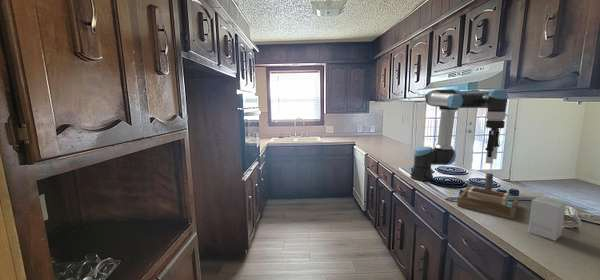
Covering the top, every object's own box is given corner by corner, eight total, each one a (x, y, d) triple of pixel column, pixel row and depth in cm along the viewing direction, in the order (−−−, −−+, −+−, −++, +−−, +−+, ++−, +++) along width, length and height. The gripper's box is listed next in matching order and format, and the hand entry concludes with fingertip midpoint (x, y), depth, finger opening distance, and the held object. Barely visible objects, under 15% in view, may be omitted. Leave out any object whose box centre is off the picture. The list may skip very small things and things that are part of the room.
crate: (470, 198, 146) (473, 169, 143) (506, 206, 135) (510, 175, 132) (466, 203, 139) (469, 173, 136) (503, 212, 128) (507, 179, 125)
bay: (466, 195, 156) (467, 186, 156) (517, 205, 140) (518, 196, 139) (457, 205, 141) (458, 196, 140) (513, 219, 124) (514, 208, 123)
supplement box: (562, 235, 110) (567, 202, 107) (555, 241, 105) (560, 207, 103) (534, 226, 117) (539, 195, 115) (527, 232, 112) (531, 199, 110)
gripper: (501, 122, 118) (496, 166, 122) (507, 119, 136) (503, 158, 139) (482, 121, 124) (477, 164, 127) (490, 118, 141) (486, 156, 144)
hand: (491, 161), depth 133 cm, fingers open, 13 cm apart
